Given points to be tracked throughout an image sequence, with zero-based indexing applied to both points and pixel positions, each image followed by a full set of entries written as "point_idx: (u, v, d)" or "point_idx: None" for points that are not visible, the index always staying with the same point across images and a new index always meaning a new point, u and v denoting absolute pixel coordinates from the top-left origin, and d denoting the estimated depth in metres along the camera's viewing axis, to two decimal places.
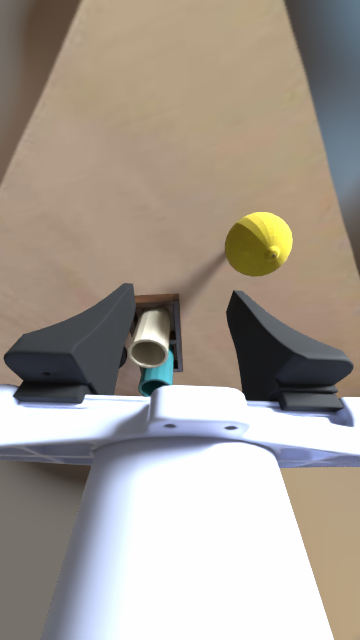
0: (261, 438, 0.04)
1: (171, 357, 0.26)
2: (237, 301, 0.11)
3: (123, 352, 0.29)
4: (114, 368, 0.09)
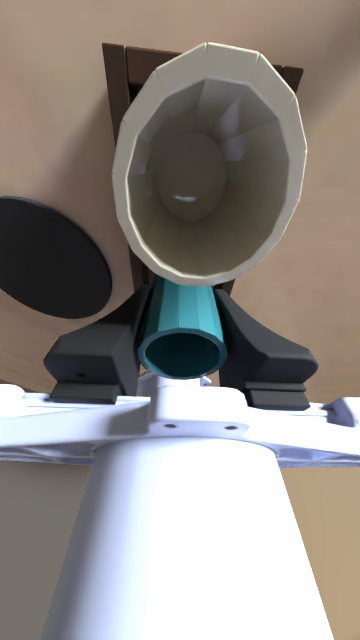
0: (262, 438, 0.04)
1: None
2: (217, 300, 0.11)
3: (105, 277, 0.14)
4: (137, 369, 0.09)
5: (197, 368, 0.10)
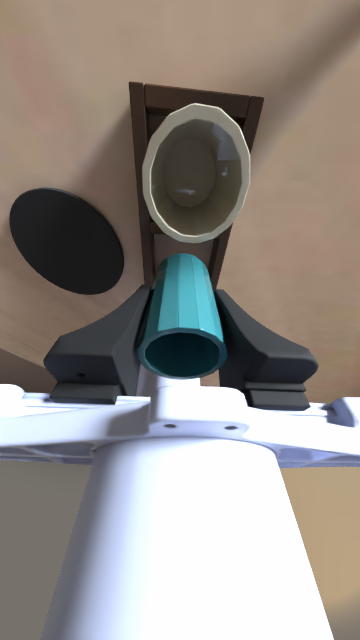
0: (262, 437, 0.04)
1: None
2: (217, 300, 0.11)
3: (118, 256, 0.17)
4: (137, 369, 0.09)
5: (197, 368, 0.10)
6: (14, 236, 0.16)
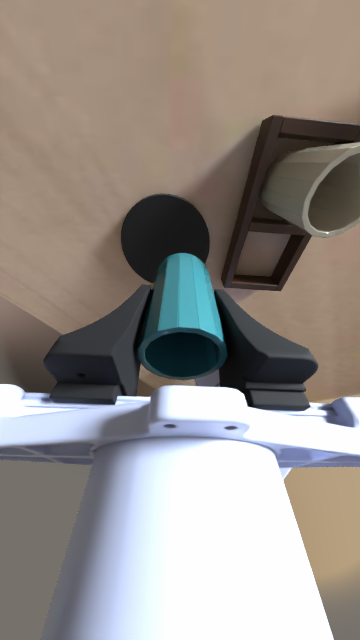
0: (262, 437, 0.04)
1: None
2: (217, 300, 0.11)
3: (205, 251, 0.20)
4: (137, 369, 0.09)
5: (197, 368, 0.10)
6: (123, 234, 0.18)
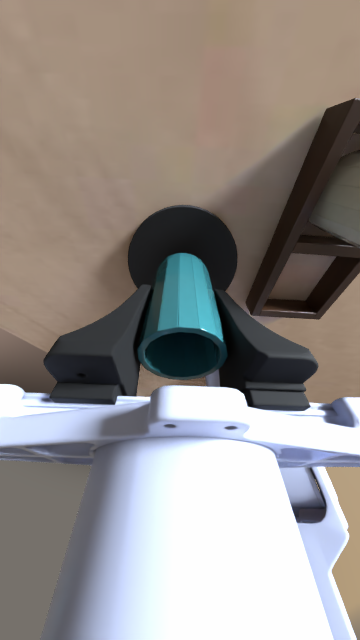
0: (262, 437, 0.04)
1: None
2: (217, 300, 0.11)
3: (231, 273, 0.16)
4: (137, 369, 0.09)
5: (197, 368, 0.10)
6: (130, 254, 0.15)
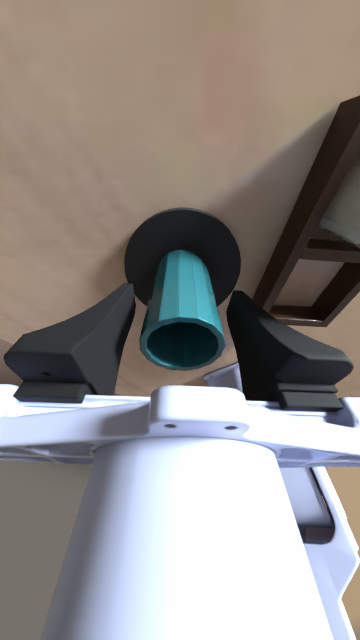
0: (262, 438, 0.04)
1: (211, 286, 0.12)
2: (237, 302, 0.11)
3: (233, 279, 0.15)
4: (114, 368, 0.09)
5: (196, 359, 0.11)
6: (127, 259, 0.14)
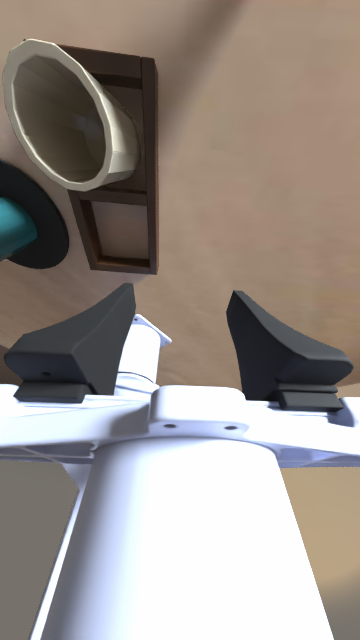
0: (262, 437, 0.04)
1: (3, 221, 0.14)
2: (237, 302, 0.11)
3: (60, 227, 0.17)
4: (114, 368, 0.09)
5: None
6: None
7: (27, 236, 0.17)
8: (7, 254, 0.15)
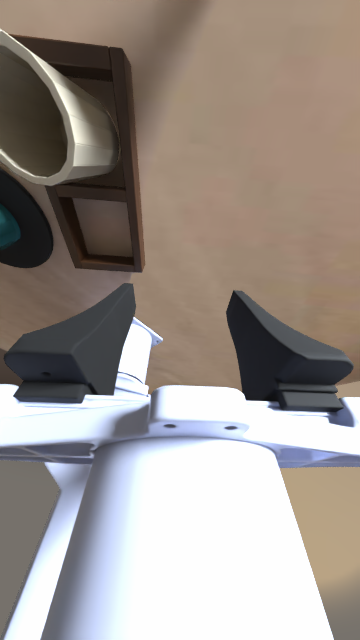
0: (262, 438, 0.04)
1: None
2: (237, 301, 0.11)
3: (43, 225, 0.17)
4: (114, 368, 0.09)
5: None
6: None
7: (9, 234, 0.16)
8: None
